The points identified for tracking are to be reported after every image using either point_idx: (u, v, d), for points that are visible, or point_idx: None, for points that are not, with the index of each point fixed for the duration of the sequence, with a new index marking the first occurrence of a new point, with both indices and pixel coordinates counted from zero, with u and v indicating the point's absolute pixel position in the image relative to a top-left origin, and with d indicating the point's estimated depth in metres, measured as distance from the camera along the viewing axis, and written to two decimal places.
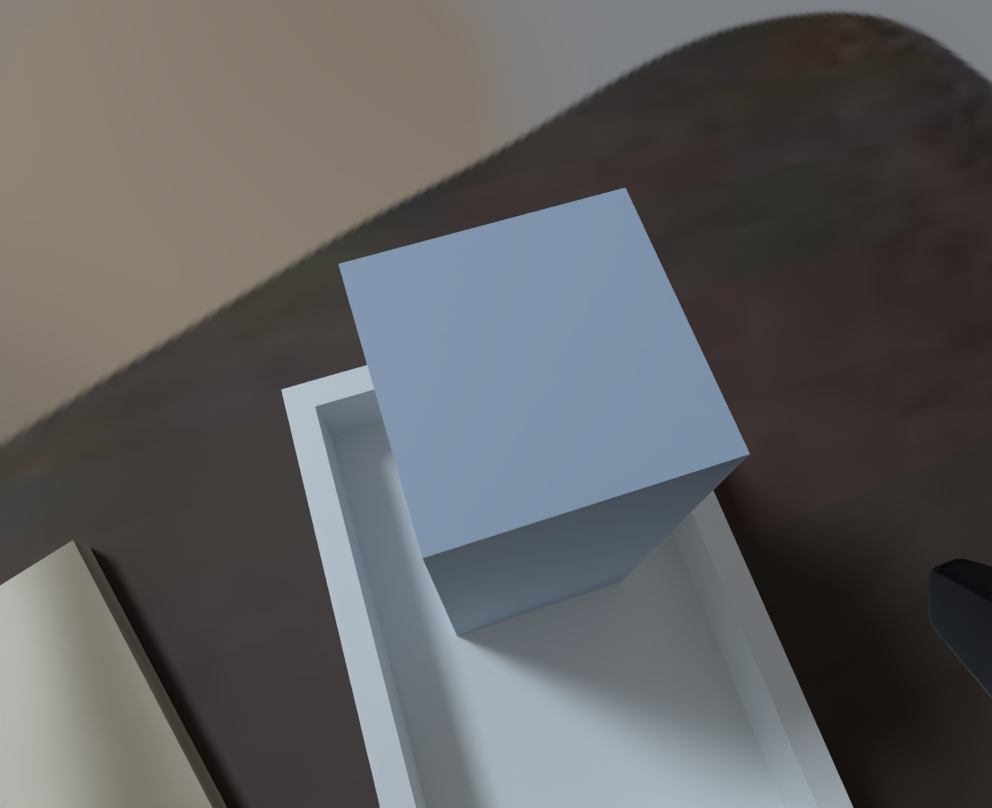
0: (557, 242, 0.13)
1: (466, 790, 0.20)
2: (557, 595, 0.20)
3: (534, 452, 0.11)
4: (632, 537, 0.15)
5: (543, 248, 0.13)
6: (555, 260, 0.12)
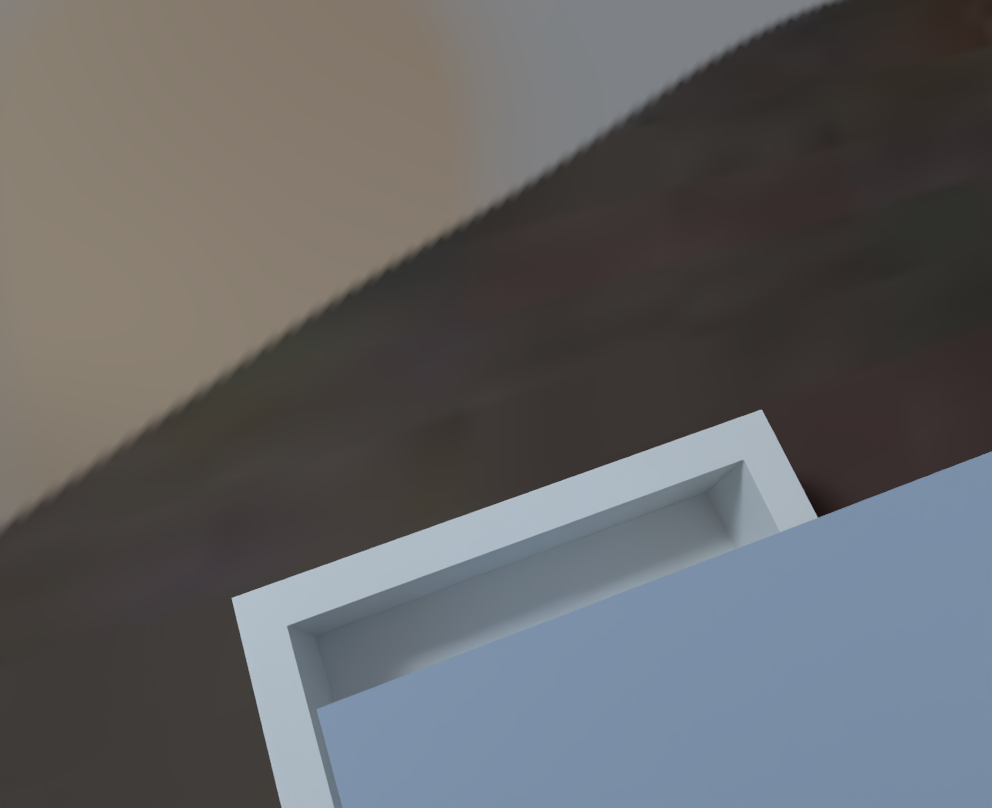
0: (938, 602, 0.04)
1: None
2: None
3: None
4: None
5: (903, 625, 0.04)
6: (945, 664, 0.04)
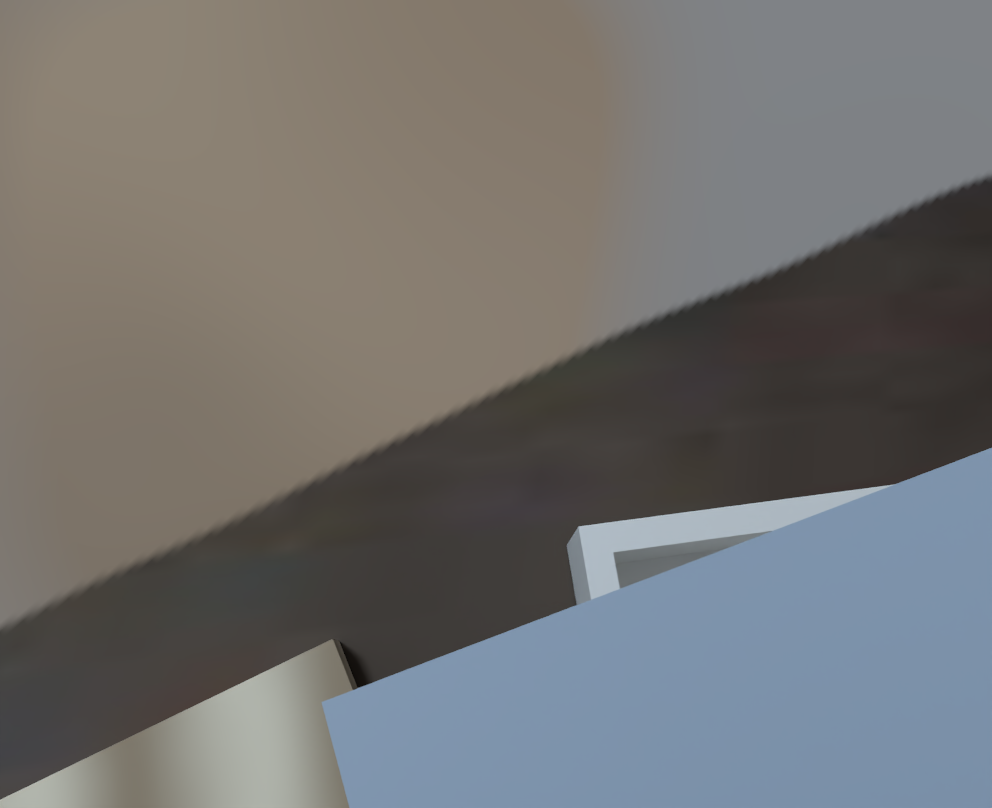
0: (941, 597, 0.04)
1: None
2: None
3: None
4: None
5: (906, 619, 0.04)
6: (946, 658, 0.04)
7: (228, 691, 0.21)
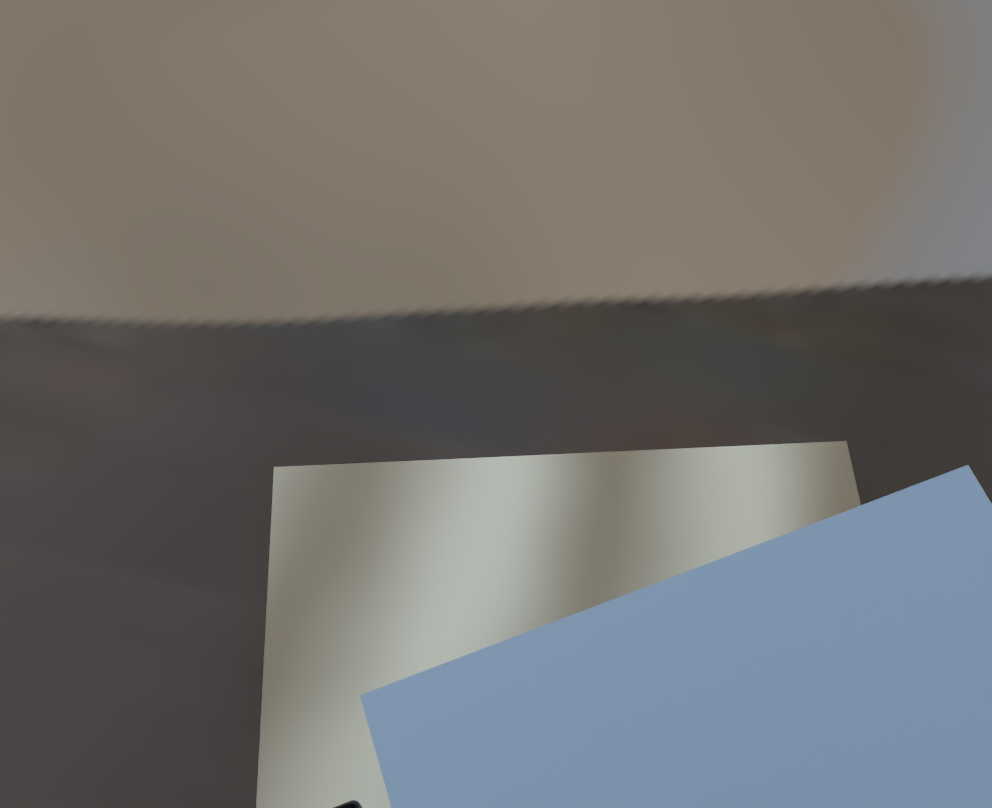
0: (847, 613, 0.06)
1: None
2: None
3: None
4: None
5: (819, 631, 0.06)
6: (849, 662, 0.05)
7: (723, 448, 0.19)
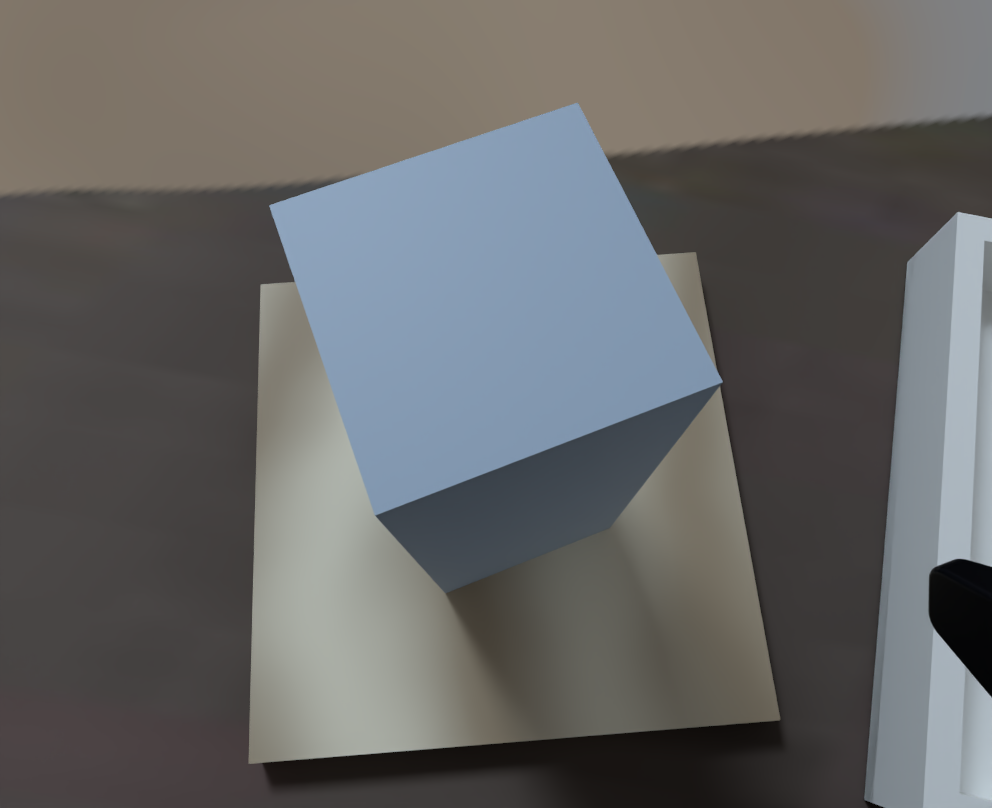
0: (506, 166, 0.12)
1: None
2: (544, 545, 0.20)
3: (490, 395, 0.10)
4: (610, 480, 0.14)
5: (491, 174, 0.11)
6: (504, 185, 0.11)
7: None
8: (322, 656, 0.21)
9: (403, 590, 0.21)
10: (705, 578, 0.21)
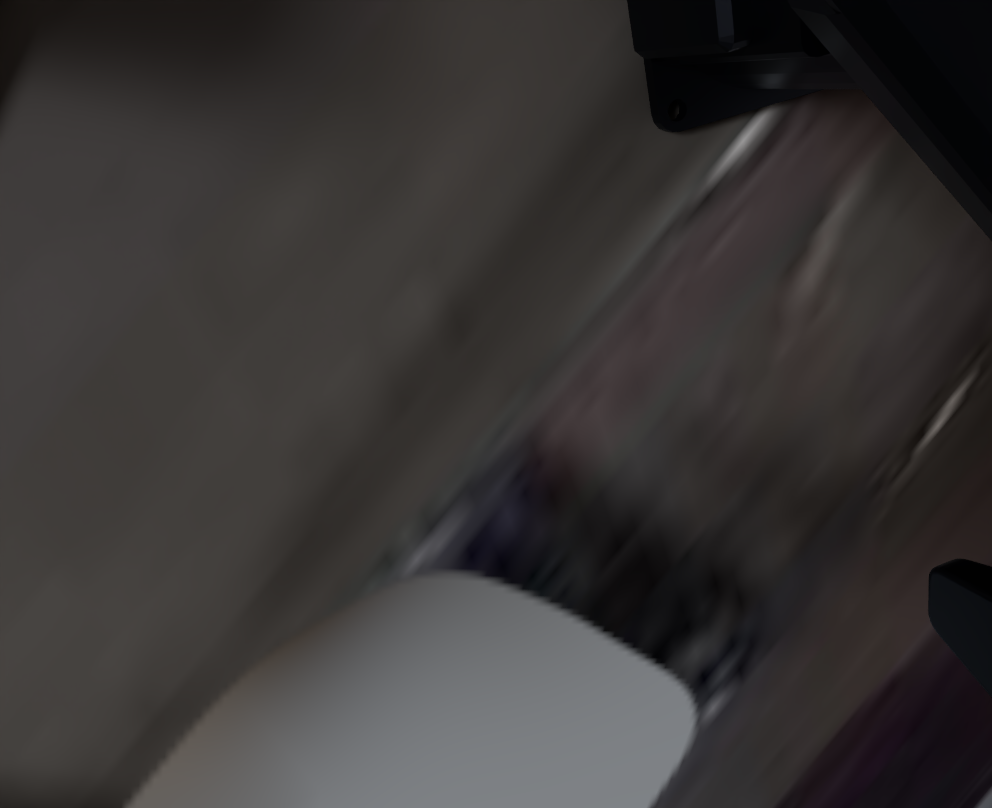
0: None
1: None
2: None
3: None
4: None
5: None
6: None
7: None
8: None
9: None
10: None
